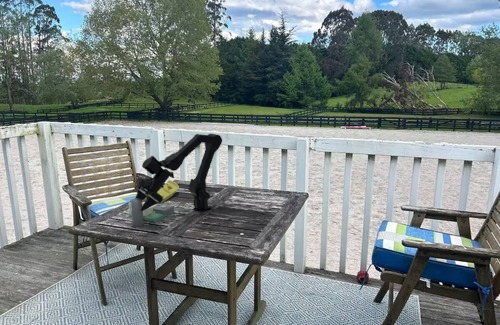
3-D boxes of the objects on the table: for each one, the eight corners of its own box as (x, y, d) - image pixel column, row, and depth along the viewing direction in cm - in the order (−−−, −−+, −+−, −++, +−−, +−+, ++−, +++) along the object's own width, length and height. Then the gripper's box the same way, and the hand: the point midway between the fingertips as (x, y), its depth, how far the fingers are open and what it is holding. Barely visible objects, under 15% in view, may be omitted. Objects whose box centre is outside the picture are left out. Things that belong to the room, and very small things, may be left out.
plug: (141, 222, 171) (139, 197, 168) (145, 225, 167) (143, 200, 164) (129, 225, 168) (126, 200, 165) (133, 228, 164) (130, 203, 161)
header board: (174, 212, 183) (173, 204, 182) (154, 222, 171) (154, 213, 170) (149, 207, 190) (148, 199, 189) (129, 216, 178) (128, 208, 177)
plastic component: (161, 199, 195) (146, 190, 197) (158, 210, 198) (143, 201, 200) (182, 186, 212) (168, 178, 214) (178, 196, 216) (164, 188, 218)
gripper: (138, 166, 173) (116, 193, 168) (154, 174, 158) (131, 203, 154) (155, 179, 179) (134, 206, 175) (172, 188, 165) (150, 217, 160)
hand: (137, 207), depth 166 cm, fingers open, 9 cm apart
